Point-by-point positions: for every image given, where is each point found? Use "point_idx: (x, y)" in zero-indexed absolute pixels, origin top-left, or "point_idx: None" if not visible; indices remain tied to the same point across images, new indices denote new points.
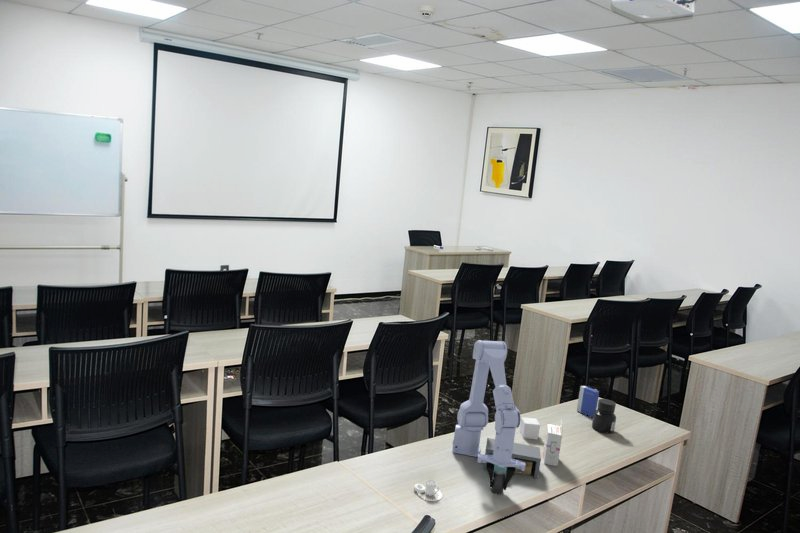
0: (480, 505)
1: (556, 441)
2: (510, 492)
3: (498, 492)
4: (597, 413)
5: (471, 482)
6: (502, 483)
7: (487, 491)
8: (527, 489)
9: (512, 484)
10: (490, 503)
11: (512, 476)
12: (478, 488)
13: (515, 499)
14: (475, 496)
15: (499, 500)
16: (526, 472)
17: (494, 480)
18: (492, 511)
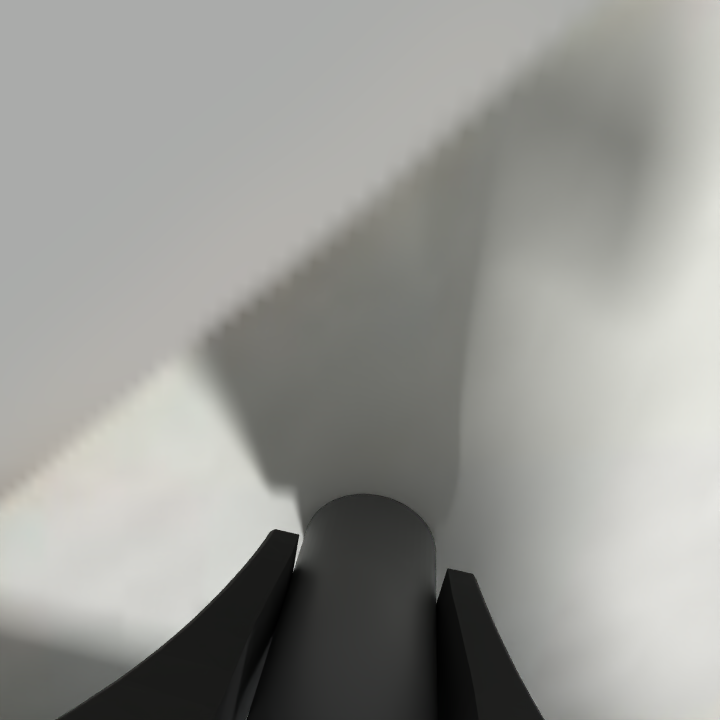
0: (699, 200)
1: None
2: (221, 542)
3: (365, 510)
4: None
5: (633, 678)
6: (305, 609)
7: (487, 538)
8: (51, 601)
9: None
10: (519, 282)
11: (76, 709)
12: (585, 584)
13: (175, 419)
14: (691, 422)
15: (374, 373)
16: None
17: (425, 660)
18: (547, 51)
